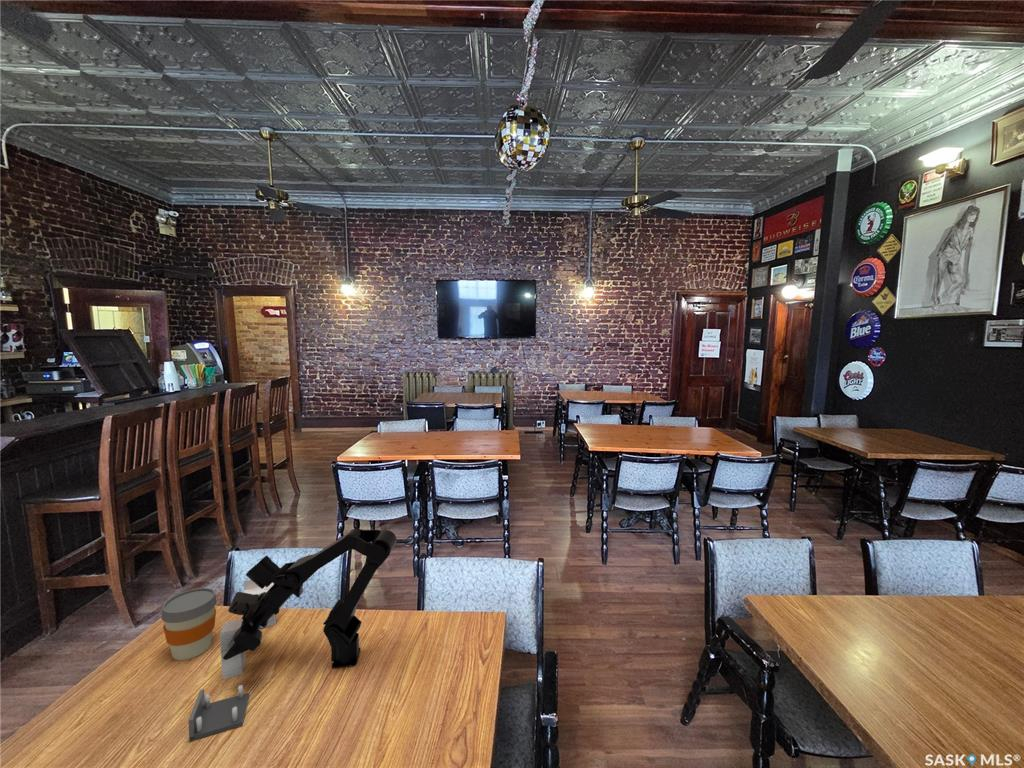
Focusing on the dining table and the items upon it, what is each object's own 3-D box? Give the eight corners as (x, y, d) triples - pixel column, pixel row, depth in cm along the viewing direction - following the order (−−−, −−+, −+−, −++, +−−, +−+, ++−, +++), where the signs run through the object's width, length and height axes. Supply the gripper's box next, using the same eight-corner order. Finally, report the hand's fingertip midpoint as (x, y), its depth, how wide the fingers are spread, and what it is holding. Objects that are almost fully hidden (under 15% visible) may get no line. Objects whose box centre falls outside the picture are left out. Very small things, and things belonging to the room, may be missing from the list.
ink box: (244, 634, 127) (242, 588, 125) (244, 625, 131) (242, 580, 130) (276, 624, 131) (275, 580, 130) (275, 615, 135) (274, 572, 134)
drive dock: (249, 696, 104) (248, 677, 104) (242, 725, 96) (241, 705, 95) (201, 709, 100) (200, 690, 100) (189, 741, 92) (188, 720, 91)
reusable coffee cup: (224, 630, 128) (221, 584, 127) (210, 658, 116) (208, 607, 115) (174, 639, 124) (171, 592, 123) (155, 670, 112) (152, 617, 111)
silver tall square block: (245, 663, 115) (243, 618, 114) (241, 674, 111) (239, 628, 110) (226, 667, 113) (224, 622, 112) (222, 679, 109) (220, 633, 108)
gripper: (255, 566, 120) (211, 611, 117) (242, 602, 103) (190, 656, 100) (286, 586, 124) (244, 631, 121) (279, 624, 107) (230, 677, 104)
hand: (228, 647), depth 111 cm, fingers open, 9 cm apart
